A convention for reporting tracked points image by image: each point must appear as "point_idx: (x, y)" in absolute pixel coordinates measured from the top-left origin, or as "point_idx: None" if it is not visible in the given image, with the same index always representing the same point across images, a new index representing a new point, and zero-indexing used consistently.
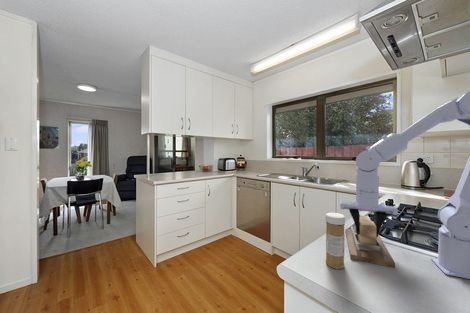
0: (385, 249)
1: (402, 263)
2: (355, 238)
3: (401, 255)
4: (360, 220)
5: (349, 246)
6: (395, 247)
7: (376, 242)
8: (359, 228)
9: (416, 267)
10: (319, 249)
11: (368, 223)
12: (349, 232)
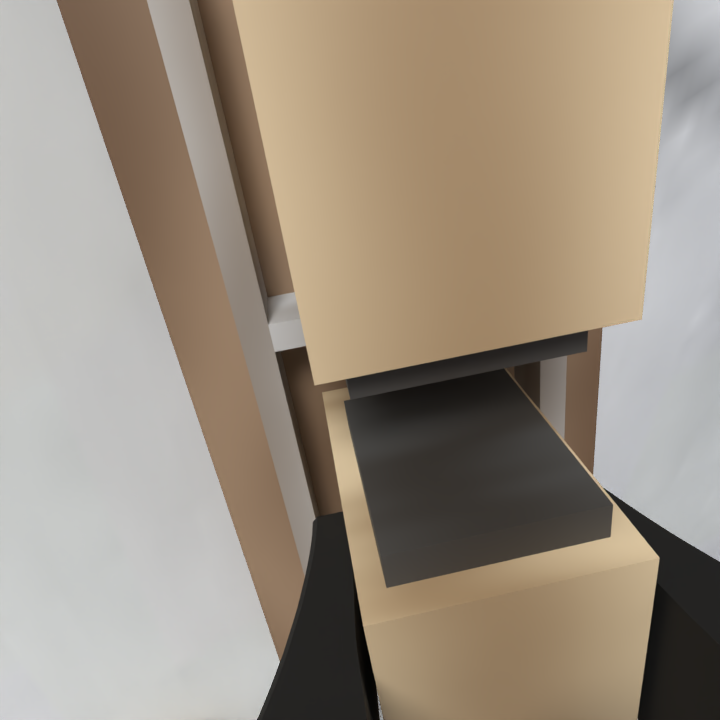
0: (579, 435)
1: (638, 501)
2: (302, 501)
3: (688, 363)
4: (411, 661)
5: (254, 568)
6: (709, 182)
7: (526, 386)
8: (376, 691)
9: (710, 502)
10: (16, 661)
11: (539, 714)
12: (155, 101)
